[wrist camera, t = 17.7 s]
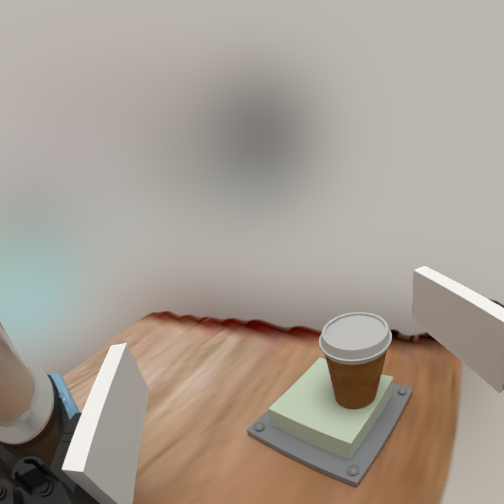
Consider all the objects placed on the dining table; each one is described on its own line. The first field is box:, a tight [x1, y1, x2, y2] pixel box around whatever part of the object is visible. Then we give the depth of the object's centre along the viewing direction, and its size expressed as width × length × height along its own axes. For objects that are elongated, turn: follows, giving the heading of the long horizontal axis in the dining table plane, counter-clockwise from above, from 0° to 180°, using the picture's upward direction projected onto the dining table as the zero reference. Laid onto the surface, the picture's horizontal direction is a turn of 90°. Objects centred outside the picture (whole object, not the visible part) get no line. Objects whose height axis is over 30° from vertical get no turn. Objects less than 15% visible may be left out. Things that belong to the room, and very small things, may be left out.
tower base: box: [247, 358, 413, 487], centre depth 40 cm, size 20×20×6 cm
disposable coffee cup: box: [319, 312, 392, 409], centre depth 36 cm, size 10×10×12 cm
